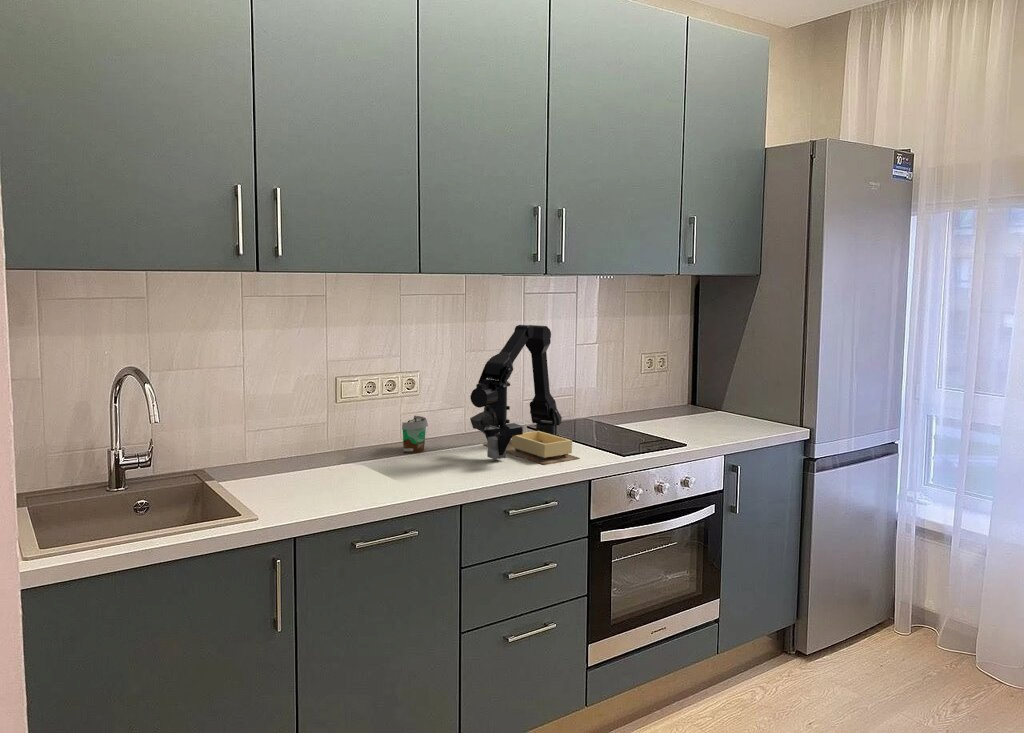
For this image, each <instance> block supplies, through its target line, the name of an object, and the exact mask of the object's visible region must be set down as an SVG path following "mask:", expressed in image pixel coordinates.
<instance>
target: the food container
mask: <svg viewBox="0 0 1024 733" xmlns="http://www.w3.org/2000/svg"><path fill="white" fill-rule="evenodd" d="M428 426H429V424H428V420H427V418H426V417H424V416H420V415H413V419H409V420H408V421H406V422H402V424H401V430H402V445H403V455H405V454H407V455H410V454H411V455H412V454H421V453H423V452H425V444H426V430H427V427H428Z"/></svg>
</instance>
